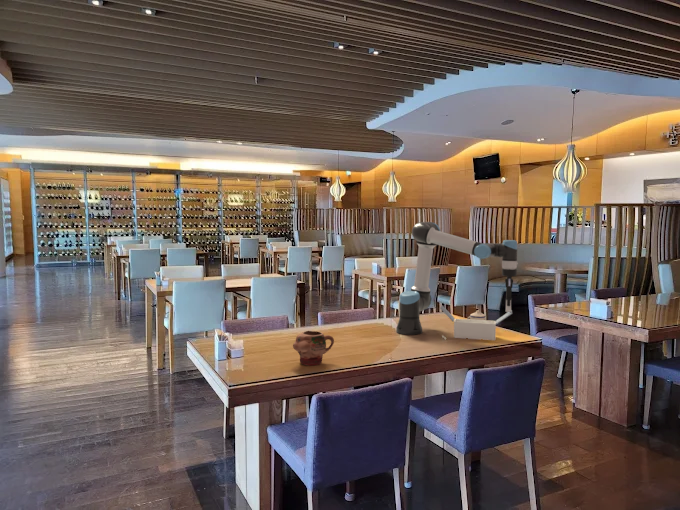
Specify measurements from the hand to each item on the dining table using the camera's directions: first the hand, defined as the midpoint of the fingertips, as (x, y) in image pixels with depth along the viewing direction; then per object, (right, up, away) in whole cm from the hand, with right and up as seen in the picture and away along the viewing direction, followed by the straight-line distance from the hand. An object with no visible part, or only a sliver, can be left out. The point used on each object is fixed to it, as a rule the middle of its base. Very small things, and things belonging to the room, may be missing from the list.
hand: (508, 311), depth 261 cm
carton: (-17, -15, +6) cm, 23 cm away
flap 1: (-31, -2, +10) cm, 32 cm away
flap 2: (-2, -3, +1) cm, 4 cm away
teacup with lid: (-10, -14, +26) cm, 31 cm away
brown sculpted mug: (-104, -19, -41) cm, 113 cm away
